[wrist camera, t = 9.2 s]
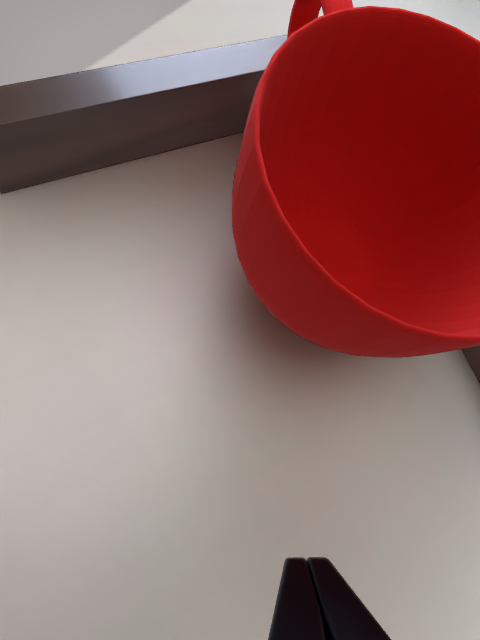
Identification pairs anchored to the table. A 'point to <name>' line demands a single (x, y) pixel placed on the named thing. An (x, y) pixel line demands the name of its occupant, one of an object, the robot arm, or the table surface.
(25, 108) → the corner guide
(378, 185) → the ceramic cup
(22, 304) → the table surface
